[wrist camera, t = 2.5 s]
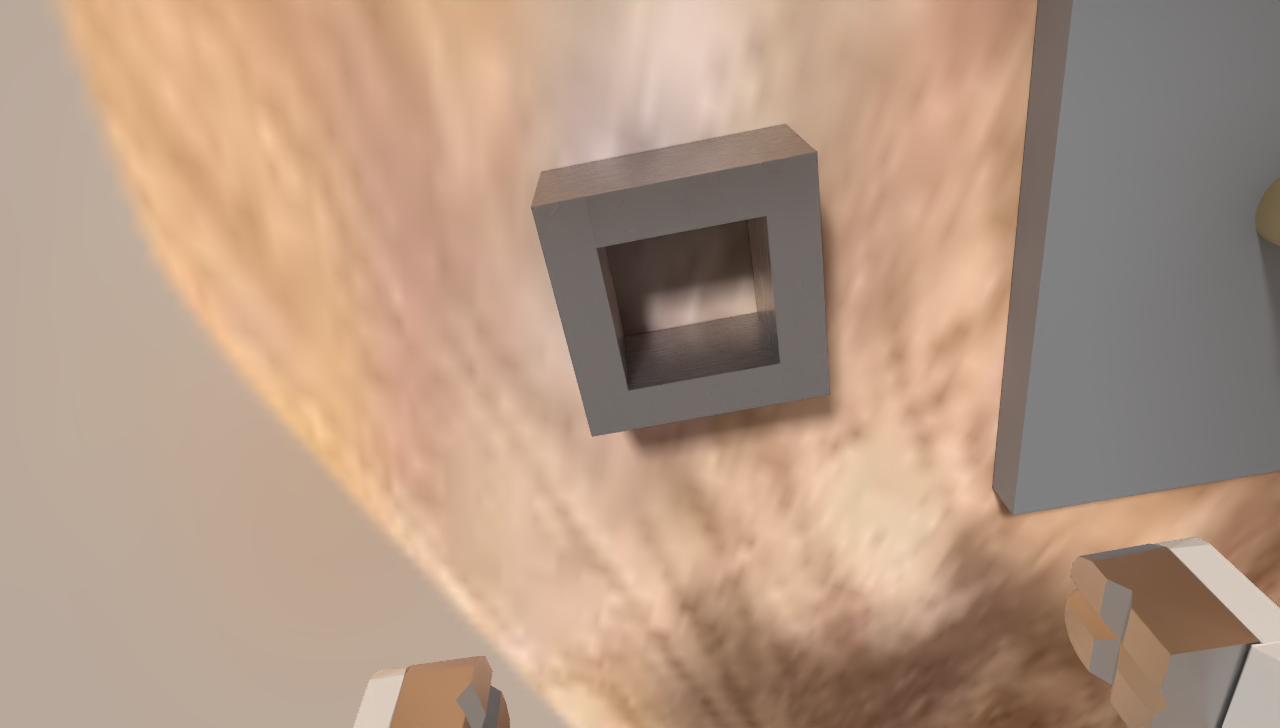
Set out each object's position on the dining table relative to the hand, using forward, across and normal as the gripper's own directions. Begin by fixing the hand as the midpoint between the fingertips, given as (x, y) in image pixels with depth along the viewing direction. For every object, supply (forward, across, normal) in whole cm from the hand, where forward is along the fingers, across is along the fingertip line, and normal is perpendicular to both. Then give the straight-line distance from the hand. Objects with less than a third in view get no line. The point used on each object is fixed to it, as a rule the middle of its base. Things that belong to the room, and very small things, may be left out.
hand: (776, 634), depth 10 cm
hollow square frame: (+13, 0, -1) cm, 13 cm away
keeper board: (+13, -17, 0) cm, 21 cm away
